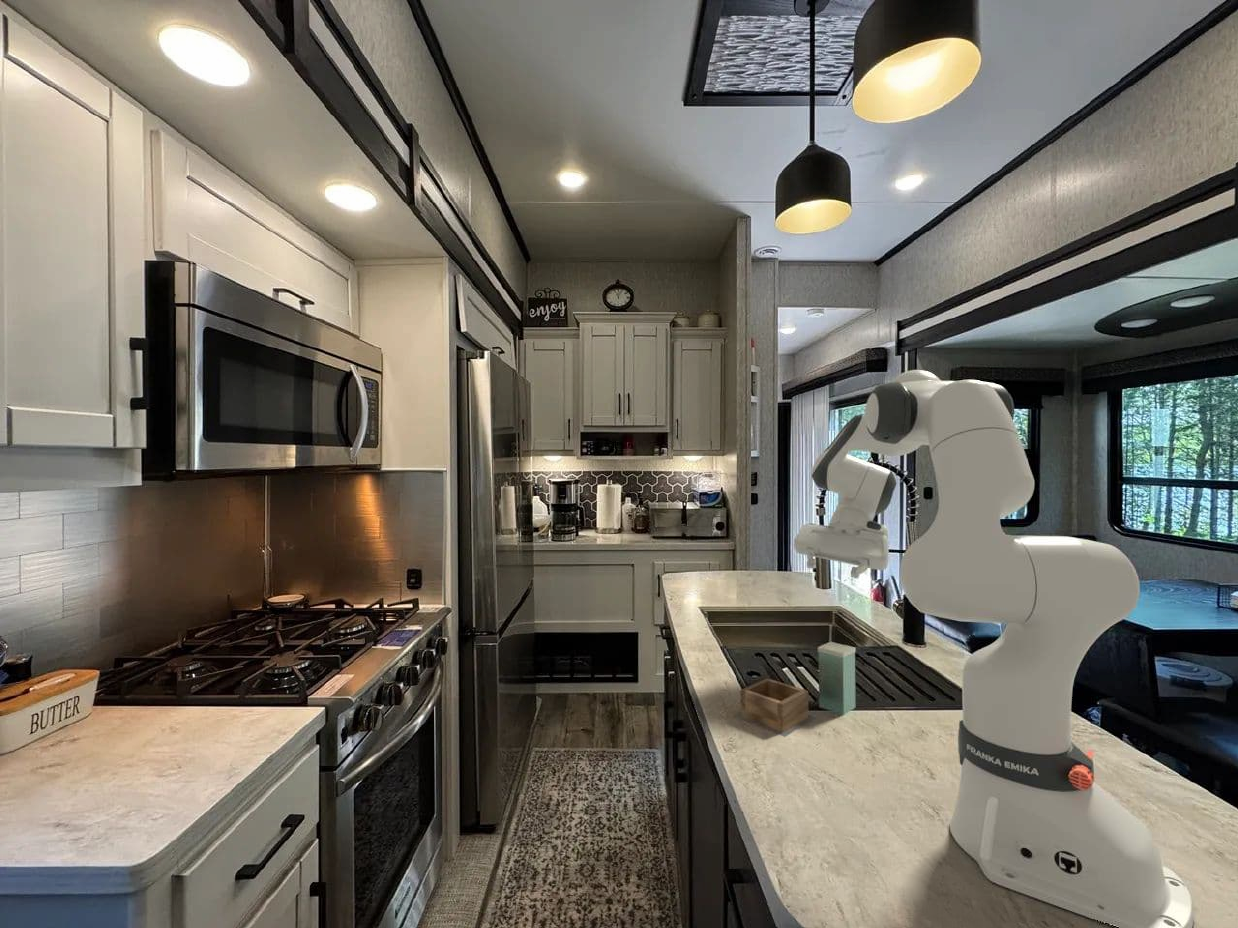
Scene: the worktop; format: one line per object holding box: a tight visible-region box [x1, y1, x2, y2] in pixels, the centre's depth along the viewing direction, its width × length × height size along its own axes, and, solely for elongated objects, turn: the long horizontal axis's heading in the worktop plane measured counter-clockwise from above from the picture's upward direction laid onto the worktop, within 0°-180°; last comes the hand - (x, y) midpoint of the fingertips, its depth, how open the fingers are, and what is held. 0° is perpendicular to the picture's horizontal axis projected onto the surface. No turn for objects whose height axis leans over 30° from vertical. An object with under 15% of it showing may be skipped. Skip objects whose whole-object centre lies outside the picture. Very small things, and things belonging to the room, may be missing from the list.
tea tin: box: [817, 641, 856, 716], centre depth 109 cm, size 5×5×12 cm
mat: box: [733, 712, 817, 737], centre depth 105 cm, size 11×11×1 cm
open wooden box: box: [740, 677, 810, 732], centre depth 105 cm, size 9×9×5 cm
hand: (831, 571), depth 121 cm, fingers open, 8 cm apart
